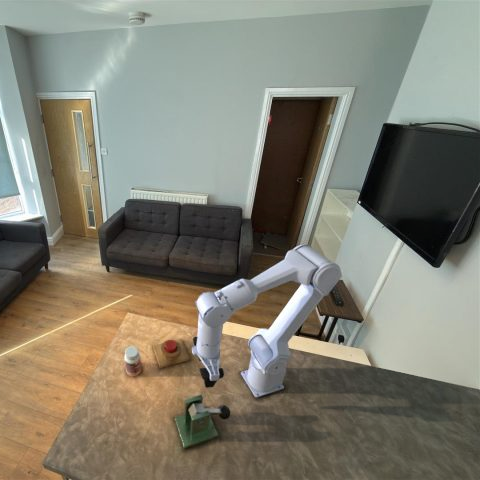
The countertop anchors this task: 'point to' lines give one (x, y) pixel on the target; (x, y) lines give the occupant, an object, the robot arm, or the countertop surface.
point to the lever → (210, 410)
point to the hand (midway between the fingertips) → (205, 372)
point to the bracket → (195, 425)
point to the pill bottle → (132, 361)
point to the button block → (170, 354)
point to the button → (170, 346)
